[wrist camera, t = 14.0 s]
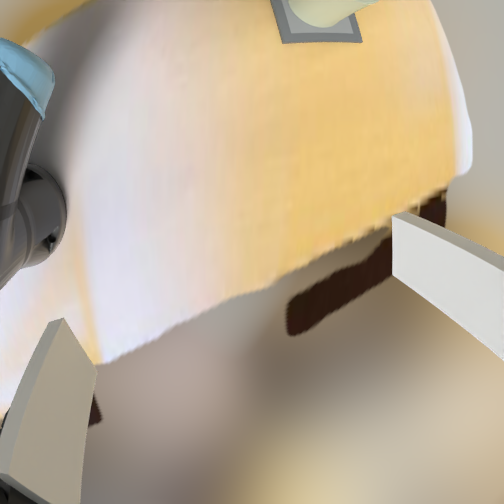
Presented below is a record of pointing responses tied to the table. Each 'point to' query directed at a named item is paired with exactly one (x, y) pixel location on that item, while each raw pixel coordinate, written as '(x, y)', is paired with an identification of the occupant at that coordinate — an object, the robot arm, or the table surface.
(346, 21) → the coaster
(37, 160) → the table surface
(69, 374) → the robot arm
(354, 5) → the can
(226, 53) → the table surface
